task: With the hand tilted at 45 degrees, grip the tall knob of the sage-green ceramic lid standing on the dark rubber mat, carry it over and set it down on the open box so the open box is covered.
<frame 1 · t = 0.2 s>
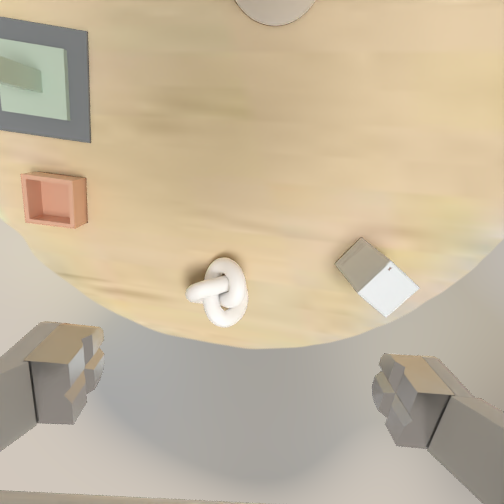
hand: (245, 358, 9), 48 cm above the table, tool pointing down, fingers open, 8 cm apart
supplement box: (359, 261, 60), on the table
white knot sculpture: (224, 278, 60), on the table
open box: (63, 197, 54), on the table
mat: (37, 82, 48), on the table
lid: (36, 81, 48), resting on mat
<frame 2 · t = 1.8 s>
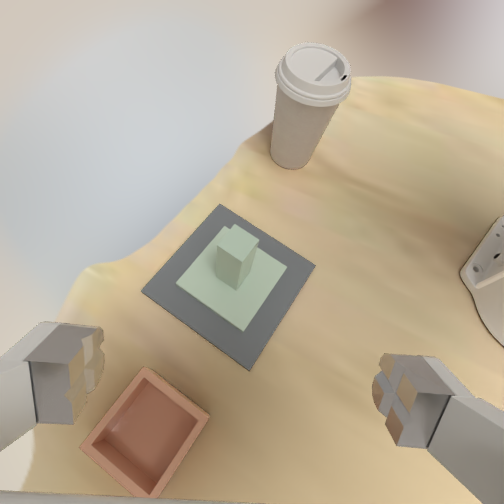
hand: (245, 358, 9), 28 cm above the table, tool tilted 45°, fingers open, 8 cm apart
coffee cup: (289, 154, 49), on the table
open box: (155, 427, 31), on the table
mat: (232, 278, 39), on the table
lid: (232, 277, 39), resting on mat
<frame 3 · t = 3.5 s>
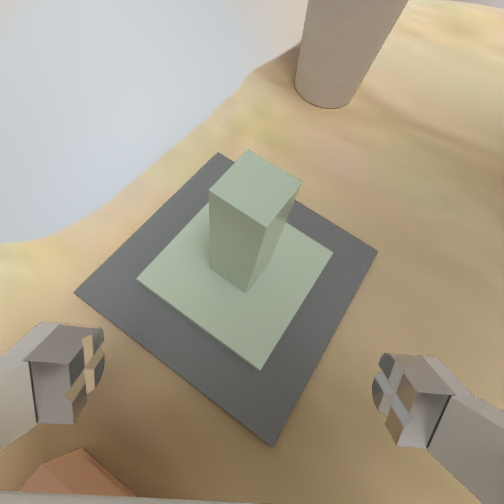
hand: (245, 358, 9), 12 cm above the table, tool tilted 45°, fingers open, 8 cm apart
coffee cup: (323, 89, 33), on the table
mat: (239, 271, 23), on the table
lid: (239, 270, 22), resting on mat
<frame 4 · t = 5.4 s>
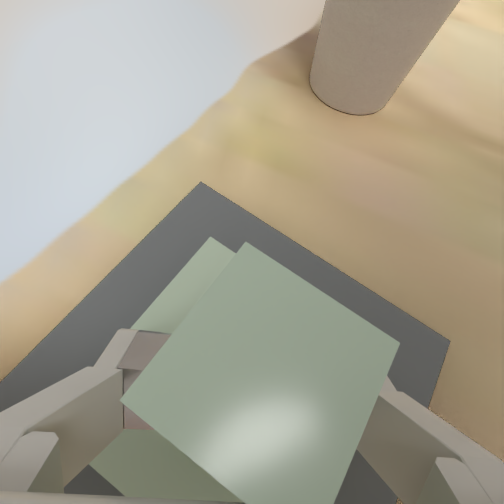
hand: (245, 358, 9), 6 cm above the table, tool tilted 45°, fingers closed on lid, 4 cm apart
coffee cup: (348, 88, 24), on the table
mat: (231, 387, 14), on the table
lid: (232, 387, 13), resting on mat, touching gripper
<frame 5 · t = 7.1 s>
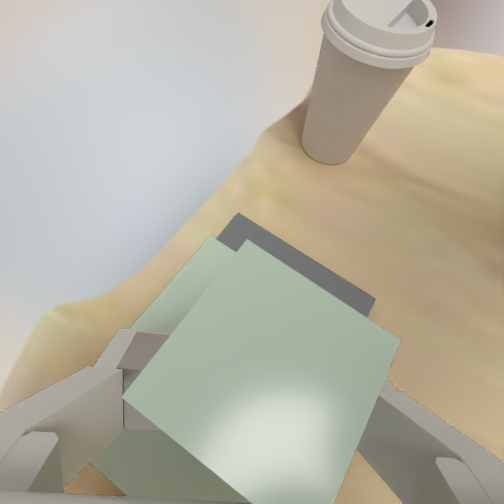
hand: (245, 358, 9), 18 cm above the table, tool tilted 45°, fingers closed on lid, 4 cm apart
coffee cup: (326, 145, 38), on the table
mat: (260, 321, 27), on the table
lid: (232, 385, 13), point 13 cm above the table, touching gripper
when the fingers open (11 cm above the table, at t = 9.3 s): lid drops 1 cm, resting on open box.
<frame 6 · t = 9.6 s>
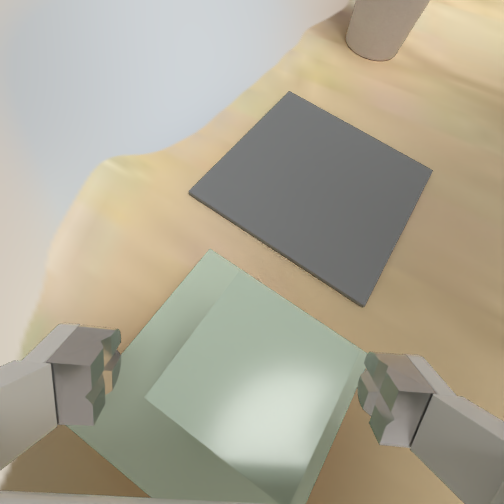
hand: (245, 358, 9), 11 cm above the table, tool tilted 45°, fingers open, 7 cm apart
coffee cup: (370, 45, 37), on the table
mat: (319, 182, 27), on the table
lid: (230, 386, 15), point 4 cm above the table, touching open box
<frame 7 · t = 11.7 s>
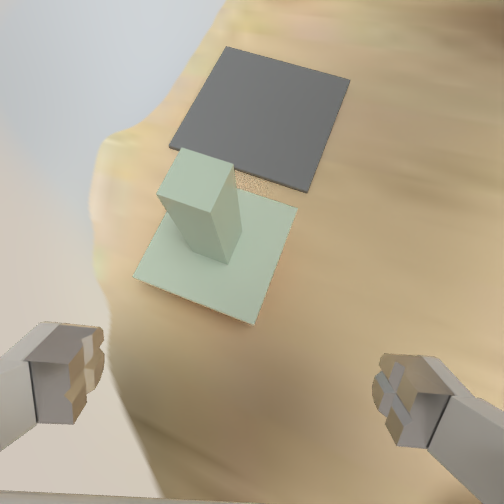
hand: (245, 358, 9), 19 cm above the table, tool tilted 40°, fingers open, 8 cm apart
mat: (262, 114, 35), on the table
lid: (219, 245, 25), point 4 cm above the table, touching open box
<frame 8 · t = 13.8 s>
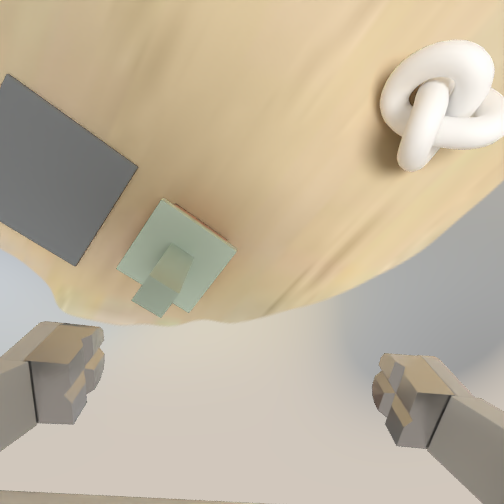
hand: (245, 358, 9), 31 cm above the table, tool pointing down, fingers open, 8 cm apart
white knot sculpture: (412, 110, 36), on the table
mat: (46, 179, 37), on the table
lid: (177, 257, 36), point 4 cm above the table, touching open box
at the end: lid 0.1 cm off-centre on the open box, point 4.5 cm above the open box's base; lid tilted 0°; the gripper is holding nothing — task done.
